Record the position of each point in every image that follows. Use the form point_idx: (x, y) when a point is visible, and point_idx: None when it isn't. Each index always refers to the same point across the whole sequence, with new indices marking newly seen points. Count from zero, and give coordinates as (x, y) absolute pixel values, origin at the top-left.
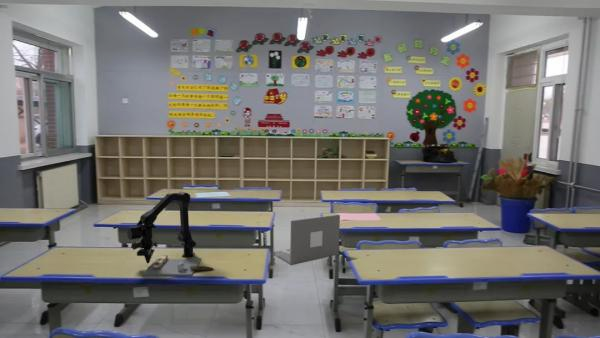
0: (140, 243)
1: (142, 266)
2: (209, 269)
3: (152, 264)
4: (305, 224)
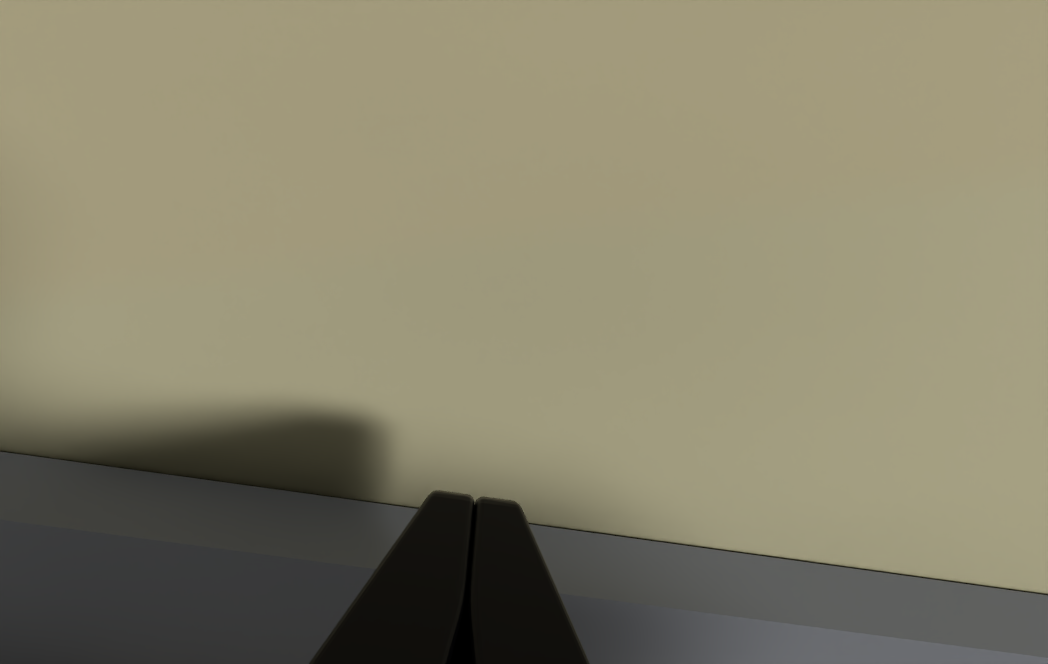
0: None
1: (491, 150)
2: None
3: None
4: None
